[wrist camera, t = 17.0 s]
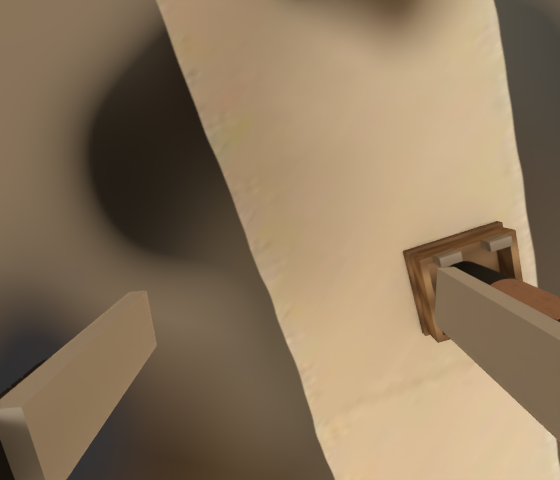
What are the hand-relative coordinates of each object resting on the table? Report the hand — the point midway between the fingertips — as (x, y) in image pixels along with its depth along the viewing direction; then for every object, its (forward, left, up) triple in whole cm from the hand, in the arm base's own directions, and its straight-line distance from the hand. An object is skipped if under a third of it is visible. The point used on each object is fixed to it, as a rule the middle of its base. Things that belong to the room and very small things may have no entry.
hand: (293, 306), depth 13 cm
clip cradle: (+13, +28, -32) cm, 44 cm away
